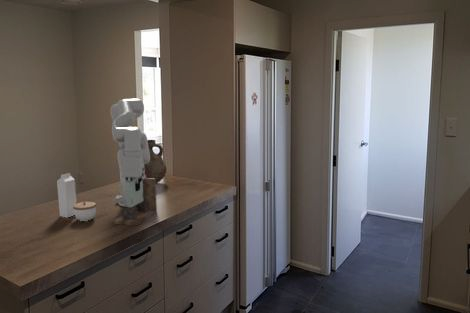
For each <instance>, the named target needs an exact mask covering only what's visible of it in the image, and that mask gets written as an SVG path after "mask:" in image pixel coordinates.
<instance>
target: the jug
mask: <svg viewBox="0 0 470 313" xmlns="http://www.w3.org/2000/svg"><path fill="white" fill-rule="evenodd" d="M147 141H148V147H149V152H150V161H149V163H147V164H144V169H145V175H146V178H155V180H156V186H157V185H159V184H158V183H159V182H161V181H162V180H163V179H164V178H165V176H166V175H167V165H166V162H165V160H164V159H163V157H162V156H163V154H164V148H163V146H162V145H161V144H159V143H156V139H147ZM153 148H159V152H158V153H156V152H154V149H153ZM141 177H142V176H141Z"/></svg>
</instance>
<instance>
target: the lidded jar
mask: <svg viewBox="0 0 470 313" xmlns="http://www.w3.org/2000/svg"><path fill="white" fill-rule="evenodd" d="M76 203H77V202H76ZM73 210H74V215H75V216H74V218H76V219H77V220H78V221H79V220H80V221H79V222H81V221H85V222H89V221H88V220H90V221H91V219H92V220H93V218H94V217H95V216H96V212H97V204H96V202H94V201H85V200H84V201H82V202H78V203H77V204H74V205H73Z"/></svg>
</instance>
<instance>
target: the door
mask: <svg viewBox="0 0 470 313" xmlns="http://www.w3.org/2000/svg"><path fill="white" fill-rule="evenodd" d="M135 183H136V179H134V180H132V181H129V182H127V183H126V192H127V208H133V207H135V205H137V204H139V203H141V202H142V201H144V200H143V180H142V181H141V182H140V190H139V191H136V188H135Z"/></svg>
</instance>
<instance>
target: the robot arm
mask: <svg viewBox="0 0 470 313" xmlns="http://www.w3.org/2000/svg"><path fill="white" fill-rule="evenodd" d="M109 112H110V118H111V121H112V123H111V124H112V125H111V133H112V134H111V135H112V139H113V141H114V142H115V143H117V144H118V146H119V148H120V149H119V150H118V152H117V154H116V155H117V156H116V157H117V162H118V167H119V177H120V178H119V180H120V194H121V195H116V196H115V200H117V201H119V202H118V206H121V207H124V208H126V207H127V192H126V183H127V182H129V181H132V180H133V178H136V183H135V188H136V191H139V190H140V182H141V181H142V180H143V179H145V178H146V175H145V169H144V164H147V163H149V161H150V152H149V147H148V141H147V140H148V137H147V134H146V133H145V132H143V131H142V130H141V128H140V127H138V126H132V124H134V122H135V121H136V118H141V117H142V115H143V114H144V112H145V105H144V102H143V101H142V100H141V99H139V98H124V99H120V100H119V101H117V103H114V104H112V105H111V106H110V110H109ZM141 176H142V177H141ZM127 208H128V207H127Z"/></svg>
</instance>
